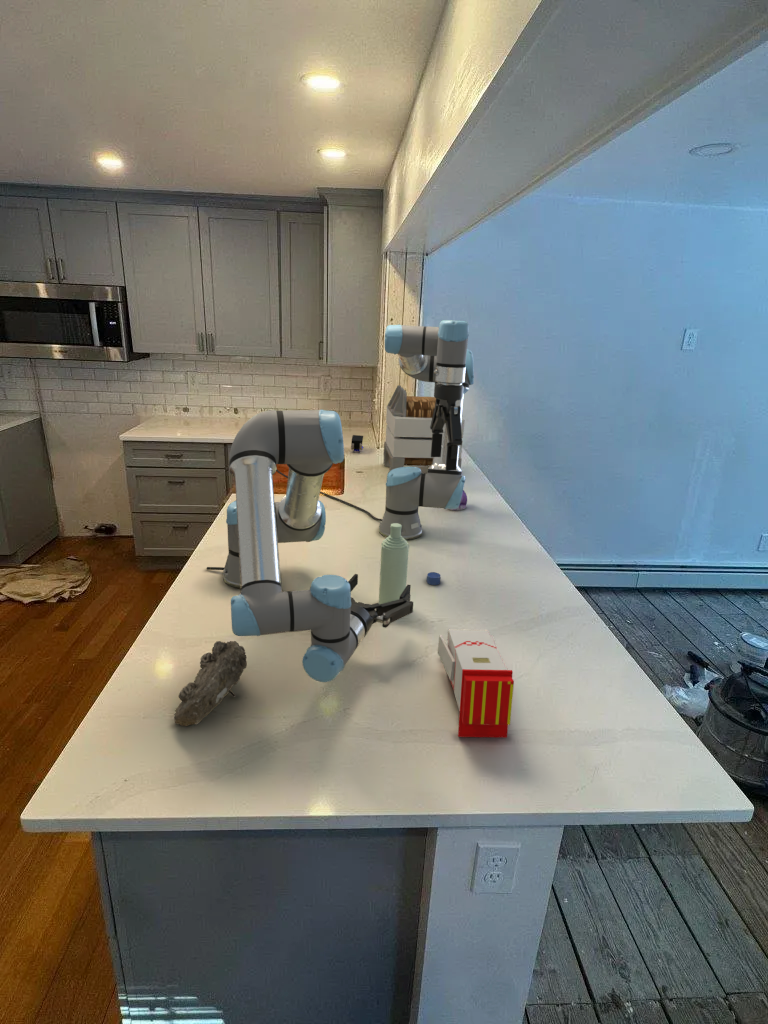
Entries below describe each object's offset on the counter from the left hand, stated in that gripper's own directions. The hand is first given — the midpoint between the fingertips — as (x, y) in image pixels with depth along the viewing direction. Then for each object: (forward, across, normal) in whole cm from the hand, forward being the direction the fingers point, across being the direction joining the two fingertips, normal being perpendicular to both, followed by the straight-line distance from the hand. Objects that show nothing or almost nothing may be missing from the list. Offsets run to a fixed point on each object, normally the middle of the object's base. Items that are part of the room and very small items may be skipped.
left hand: (382, 584), depth 139 cm
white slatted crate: (+139, -28, -13) cm, 142 cm away
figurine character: (+166, -72, -14) cm, 181 cm away
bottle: (+10, 0, -11) cm, 15 cm away
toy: (-18, +26, -11) cm, 34 cm away
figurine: (+97, -1, -12) cm, 97 cm away
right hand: (+28, +6, +24) cm, 38 cm away
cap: (+28, +7, -10) cm, 30 cm away
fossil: (-39, -22, -11) cm, 46 cm away
